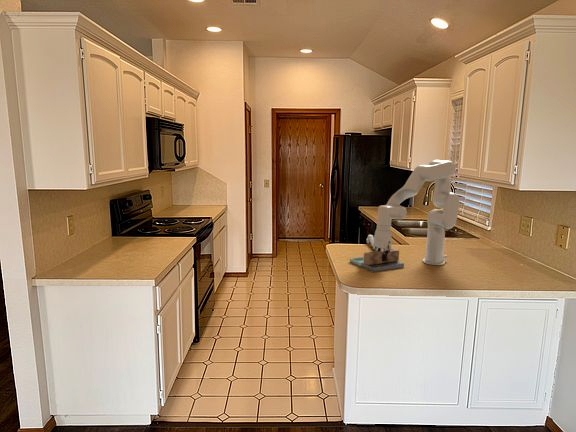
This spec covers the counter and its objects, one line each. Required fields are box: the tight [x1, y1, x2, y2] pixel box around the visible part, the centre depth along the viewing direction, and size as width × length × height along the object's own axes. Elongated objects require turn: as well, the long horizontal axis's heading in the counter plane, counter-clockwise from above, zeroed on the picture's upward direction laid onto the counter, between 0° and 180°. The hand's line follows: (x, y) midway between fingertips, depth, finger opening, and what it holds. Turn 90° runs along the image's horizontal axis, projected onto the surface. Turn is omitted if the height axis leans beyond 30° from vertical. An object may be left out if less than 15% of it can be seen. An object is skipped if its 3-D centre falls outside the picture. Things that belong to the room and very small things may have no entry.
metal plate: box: [361, 260, 405, 273], centre depth 229 cm, size 22×10×2 cm, turn 118°
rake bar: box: [363, 248, 400, 265], centre depth 229 cm, size 22×4×6 cm, turn 119°
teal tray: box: [349, 256, 364, 268], centre depth 238 cm, size 22×10×2 cm, turn 118°
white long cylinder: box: [366, 234, 376, 251], centre depth 276 cm, size 5×7×25 cm
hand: (381, 259), depth 230 cm, fingers closed on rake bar, 4 cm apart
